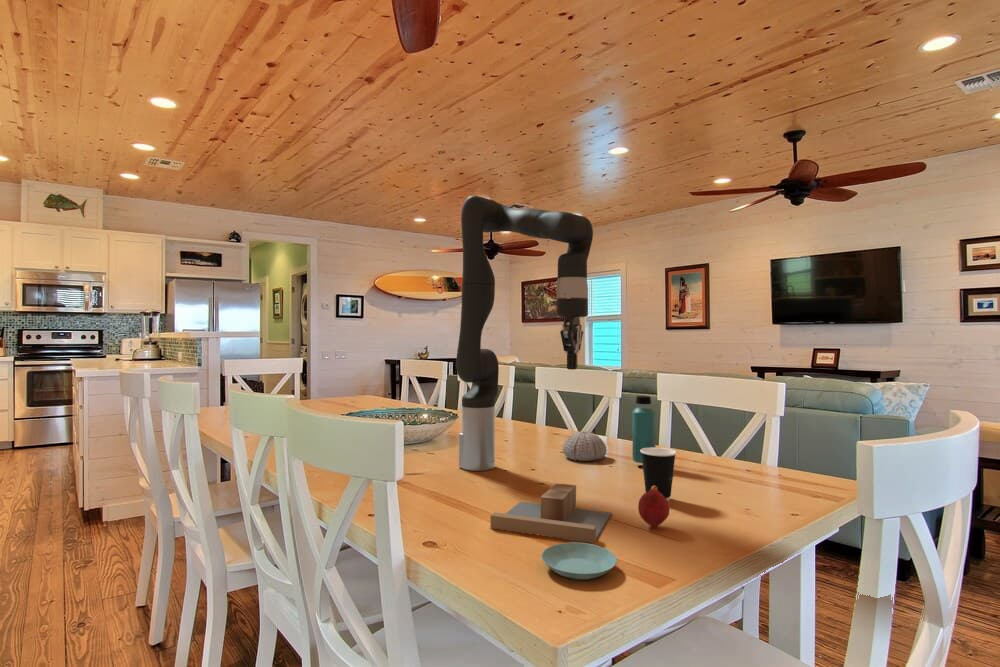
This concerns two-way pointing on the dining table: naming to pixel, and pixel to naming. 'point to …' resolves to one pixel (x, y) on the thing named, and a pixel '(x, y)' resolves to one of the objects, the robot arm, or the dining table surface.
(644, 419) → the beverage bottle
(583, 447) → the sea urchin shell
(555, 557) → the saucer
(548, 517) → the cardboard box
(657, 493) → the onion
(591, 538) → the grey flat slab
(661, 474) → the dixie cup
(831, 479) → the dining table surface
